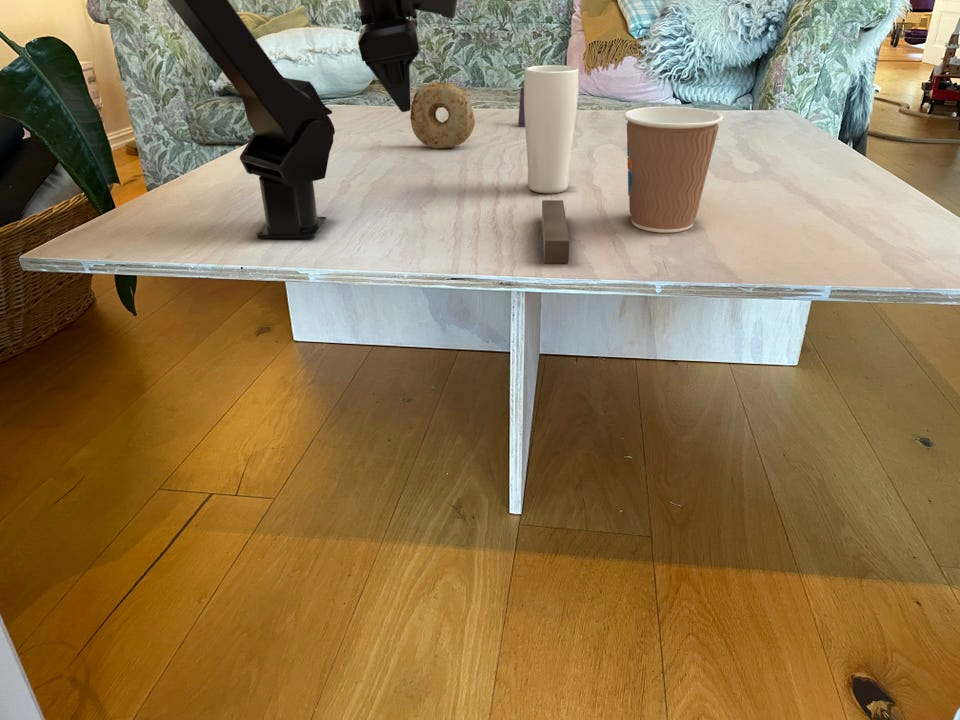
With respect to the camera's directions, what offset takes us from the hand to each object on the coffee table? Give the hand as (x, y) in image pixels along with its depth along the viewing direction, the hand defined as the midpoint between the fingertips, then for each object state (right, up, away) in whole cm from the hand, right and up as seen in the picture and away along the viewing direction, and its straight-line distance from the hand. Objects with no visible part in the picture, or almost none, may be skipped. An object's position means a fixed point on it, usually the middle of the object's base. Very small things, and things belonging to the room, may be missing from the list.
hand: (406, 98), depth 90 cm
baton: (+17, -19, -10) cm, 27 cm away
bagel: (+3, +3, +31) cm, 31 cm away
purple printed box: (+21, +11, +47) cm, 52 cm away
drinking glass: (+18, -9, +8) cm, 22 cm away
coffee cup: (+30, -16, -5) cm, 34 cm away
